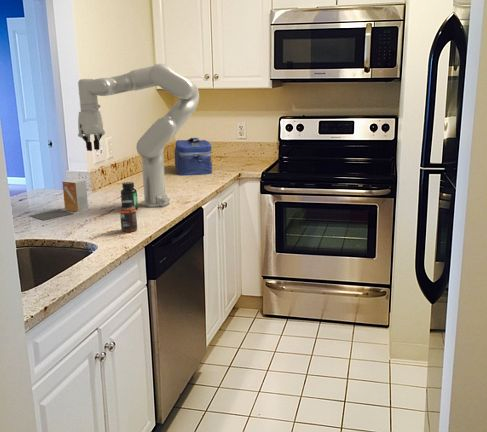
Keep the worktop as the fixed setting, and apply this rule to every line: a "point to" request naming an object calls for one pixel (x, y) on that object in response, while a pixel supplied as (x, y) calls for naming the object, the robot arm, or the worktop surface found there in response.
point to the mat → (51, 214)
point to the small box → (75, 195)
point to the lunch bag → (193, 157)
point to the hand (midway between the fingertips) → (93, 149)
